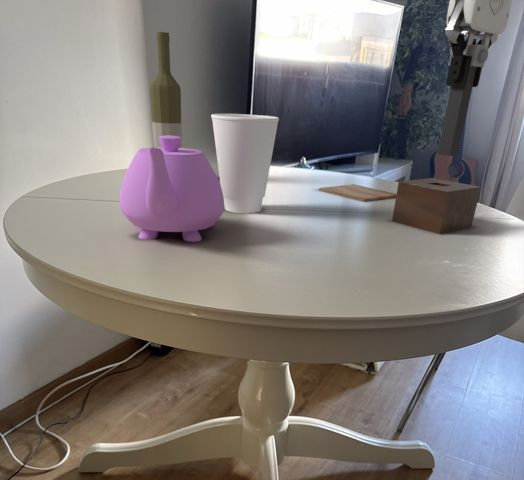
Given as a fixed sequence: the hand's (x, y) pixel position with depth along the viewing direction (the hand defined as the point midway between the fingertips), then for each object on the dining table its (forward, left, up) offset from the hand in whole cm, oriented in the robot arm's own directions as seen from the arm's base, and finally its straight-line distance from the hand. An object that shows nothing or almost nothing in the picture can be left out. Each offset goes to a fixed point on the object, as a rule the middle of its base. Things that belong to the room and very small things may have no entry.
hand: (462, 85), depth 77 cm
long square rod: (0, 0, -10) cm, 10 cm away
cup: (+24, -26, -22) cm, 42 cm away
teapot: (+44, -17, -22) cm, 52 cm away
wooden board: (-10, -27, -22) cm, 36 cm away
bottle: (+20, -62, -22) cm, 69 cm away
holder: (0, 0, -22) cm, 22 cm away
